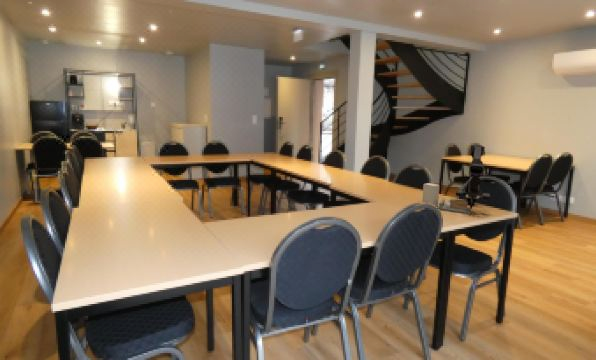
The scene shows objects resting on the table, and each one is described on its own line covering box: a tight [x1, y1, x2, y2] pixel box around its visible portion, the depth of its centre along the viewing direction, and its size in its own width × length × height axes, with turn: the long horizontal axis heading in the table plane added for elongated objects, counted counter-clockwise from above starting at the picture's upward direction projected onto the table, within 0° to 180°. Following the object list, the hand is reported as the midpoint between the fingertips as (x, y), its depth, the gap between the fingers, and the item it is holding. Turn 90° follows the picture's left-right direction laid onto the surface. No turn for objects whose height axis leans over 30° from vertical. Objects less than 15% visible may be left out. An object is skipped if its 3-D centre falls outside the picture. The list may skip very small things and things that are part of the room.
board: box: [438, 197, 472, 216], centre depth 231 cm, size 15×18×5 cm
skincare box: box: [421, 182, 440, 208], centre depth 234 cm, size 8×6×15 cm
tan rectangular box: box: [449, 198, 468, 210], centre depth 230 cm, size 5×10×5 cm, turn 63°
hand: (470, 208), depth 227 cm, fingers closed
